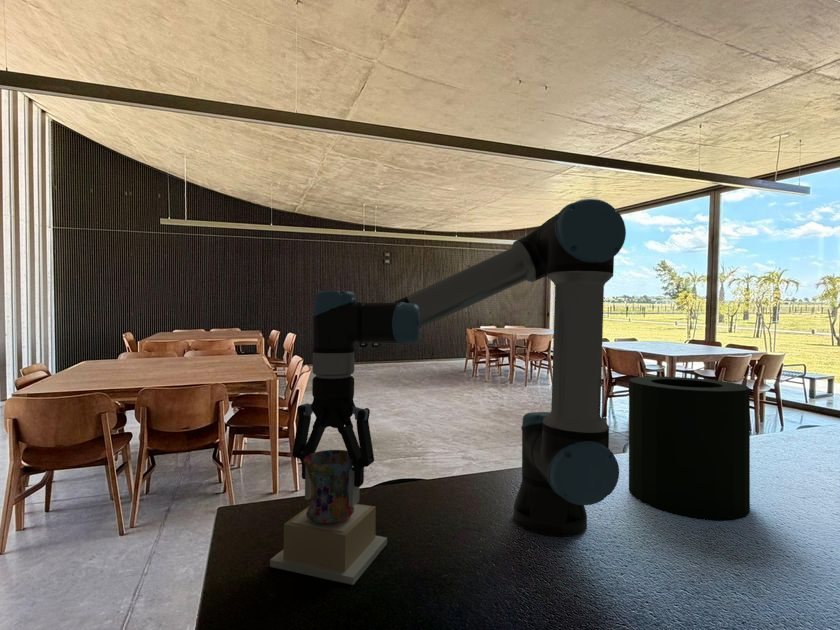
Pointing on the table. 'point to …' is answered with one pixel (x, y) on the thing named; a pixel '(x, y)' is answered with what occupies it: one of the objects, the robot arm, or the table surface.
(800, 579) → the table surface
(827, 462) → the table surface
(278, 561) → the cream stepped pedestal
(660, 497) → the flower pot
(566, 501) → the robot arm
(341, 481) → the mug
